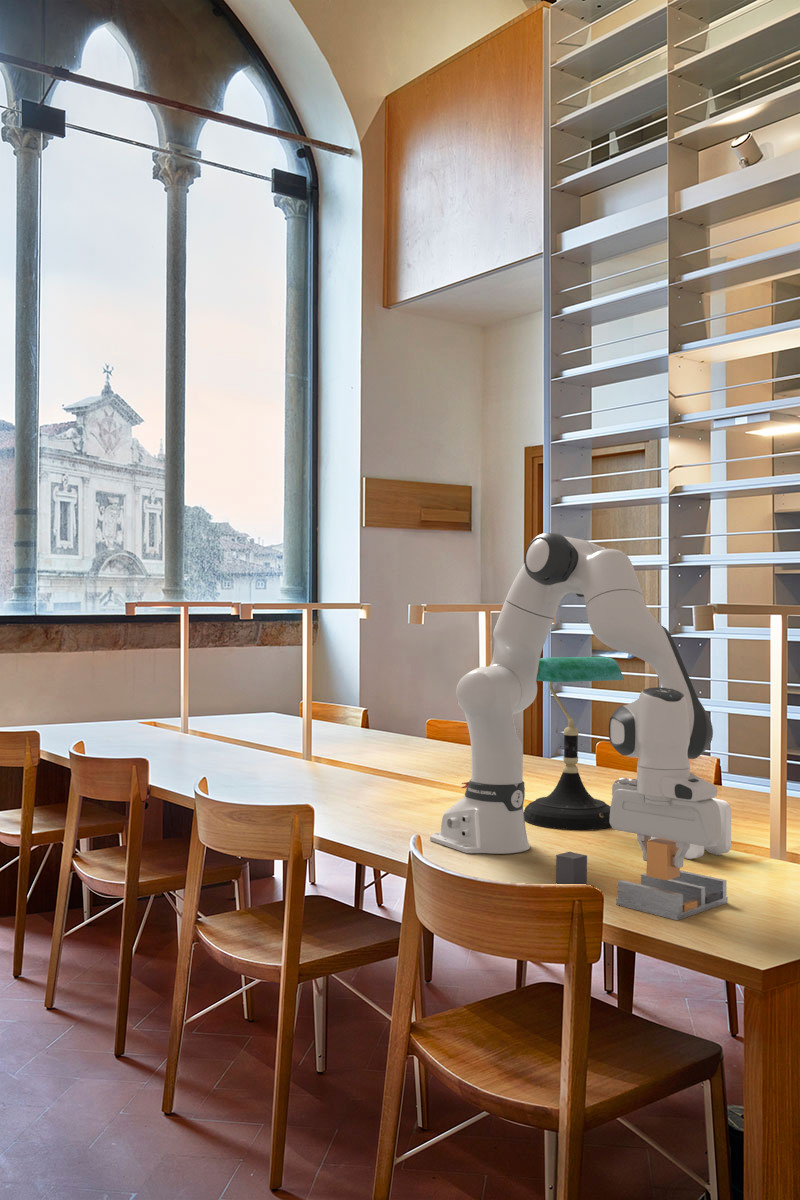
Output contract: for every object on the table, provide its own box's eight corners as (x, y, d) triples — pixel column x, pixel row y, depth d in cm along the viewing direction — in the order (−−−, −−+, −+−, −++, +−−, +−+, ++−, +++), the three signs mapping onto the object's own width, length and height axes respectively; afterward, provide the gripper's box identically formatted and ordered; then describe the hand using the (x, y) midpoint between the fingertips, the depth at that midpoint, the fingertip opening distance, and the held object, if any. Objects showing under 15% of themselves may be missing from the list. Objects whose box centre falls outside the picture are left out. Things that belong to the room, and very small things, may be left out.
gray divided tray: (616, 904, 177) (616, 881, 177) (667, 888, 187) (667, 866, 187) (677, 920, 168) (677, 896, 168) (727, 902, 179) (727, 879, 179)
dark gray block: (555, 887, 187) (556, 854, 188) (569, 883, 190) (569, 851, 190) (573, 892, 185) (573, 858, 185) (586, 888, 187) (587, 855, 187)
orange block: (646, 876, 175) (646, 840, 176) (659, 872, 178) (659, 837, 178) (666, 880, 172) (666, 844, 173) (679, 876, 175) (679, 841, 175)
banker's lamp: (561, 834, 233) (563, 659, 234) (498, 817, 252) (499, 655, 253) (643, 823, 248) (644, 658, 248) (577, 807, 267) (578, 654, 268)
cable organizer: (734, 858, 212) (735, 802, 212) (695, 863, 208) (696, 806, 208) (685, 843, 226) (685, 791, 226) (647, 848, 221) (647, 794, 221)
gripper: (602, 777, 181) (602, 856, 181) (706, 792, 166) (706, 878, 166) (623, 774, 185) (622, 850, 185) (726, 788, 170) (726, 871, 170)
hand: (663, 863), depth 175 cm, fingers closed on orange block, 4 cm apart
